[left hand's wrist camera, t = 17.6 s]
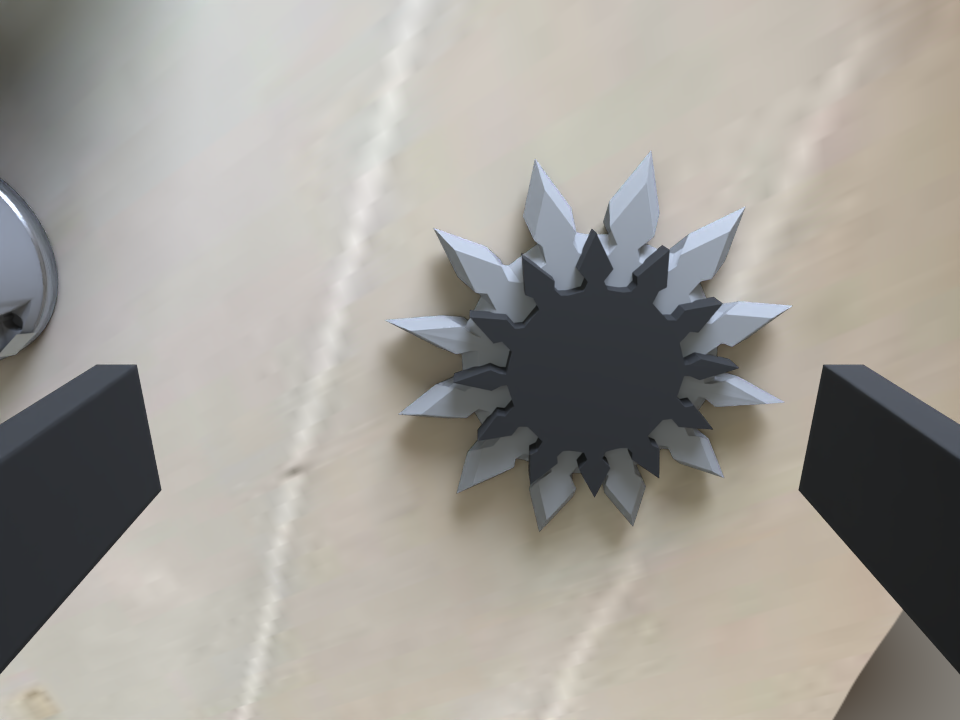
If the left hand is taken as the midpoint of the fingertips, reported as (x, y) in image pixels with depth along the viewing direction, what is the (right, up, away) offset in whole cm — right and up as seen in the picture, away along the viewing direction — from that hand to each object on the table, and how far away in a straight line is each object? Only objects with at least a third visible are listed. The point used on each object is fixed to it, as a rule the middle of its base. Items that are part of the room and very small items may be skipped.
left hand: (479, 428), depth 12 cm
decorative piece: (+8, +2, +35) cm, 36 cm away
